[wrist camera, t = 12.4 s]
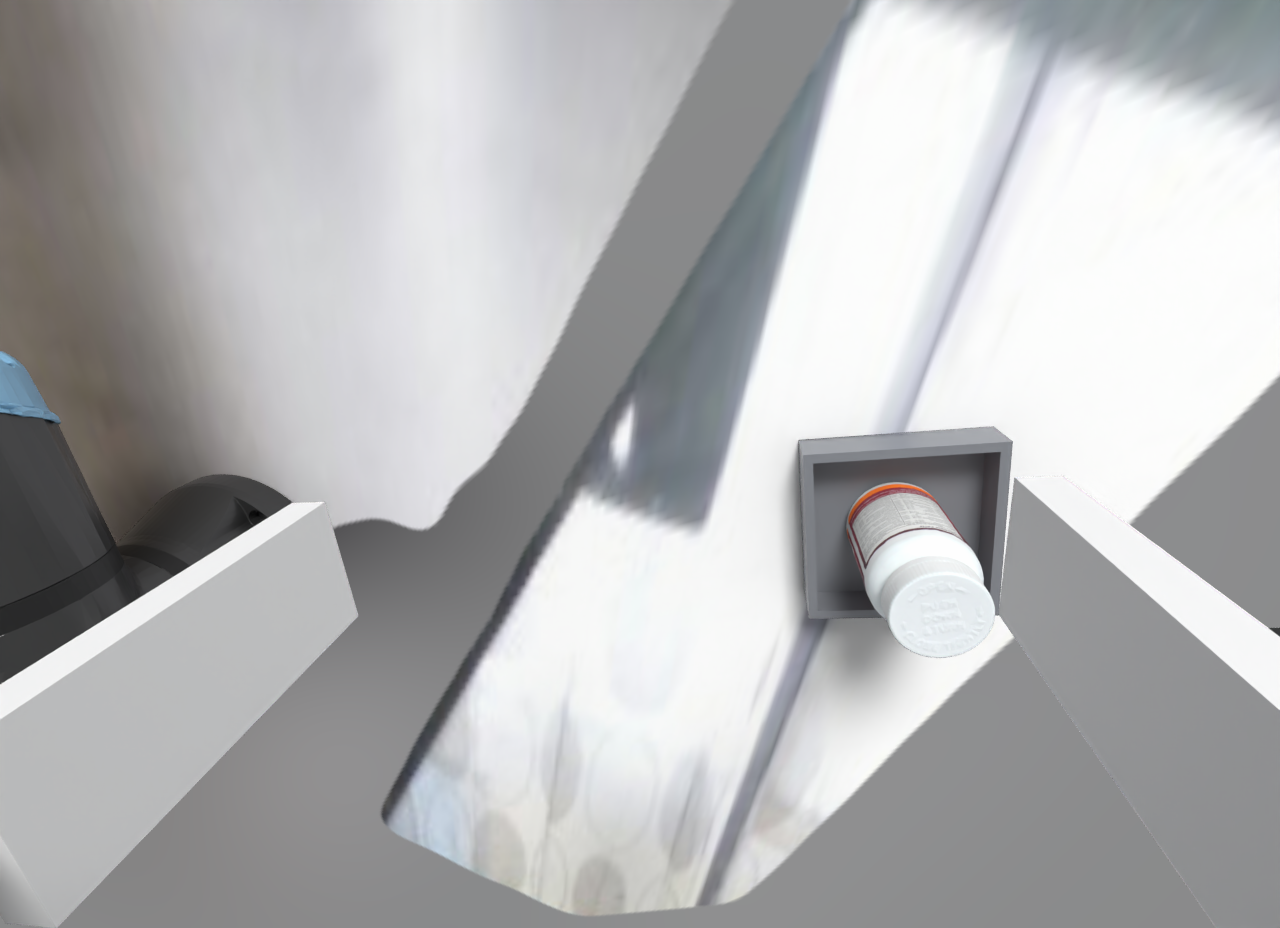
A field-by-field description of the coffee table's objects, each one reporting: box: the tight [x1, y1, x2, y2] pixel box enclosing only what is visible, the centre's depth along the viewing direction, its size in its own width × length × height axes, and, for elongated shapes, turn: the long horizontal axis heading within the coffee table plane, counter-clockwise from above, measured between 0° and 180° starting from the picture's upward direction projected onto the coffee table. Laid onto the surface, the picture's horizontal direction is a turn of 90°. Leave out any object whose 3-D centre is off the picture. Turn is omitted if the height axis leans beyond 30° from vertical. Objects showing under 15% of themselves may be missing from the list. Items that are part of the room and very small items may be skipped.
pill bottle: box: [846, 482, 995, 658], centre depth 37 cm, size 6×6×11 cm
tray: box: [799, 426, 1013, 619], centre depth 41 cm, size 12×12×3 cm
